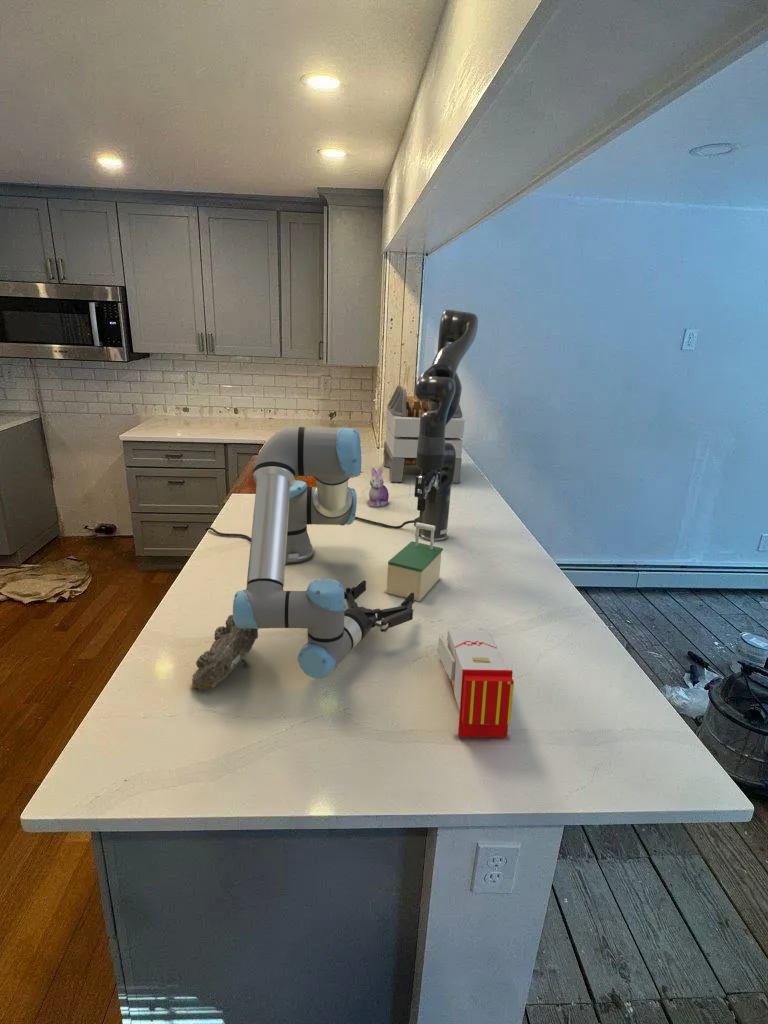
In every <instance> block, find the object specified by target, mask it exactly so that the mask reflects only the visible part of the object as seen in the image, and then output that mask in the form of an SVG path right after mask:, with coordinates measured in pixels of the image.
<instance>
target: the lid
mask: <svg viewBox="0 0 768 1024" xmlns="http://www.w3.org/2000/svg"><path fill="white" fill-rule="evenodd" d="M414 527H415V541H410V542H408V544H407V545H406V546H404V547H403V548H402V549H401V550H400V551H398V552H397V553H396V554H395V555H394V556H393V557H391V558H390V559H389V560H388V561H387V565H388V564H389V565H394V566H398V567H402V568H406V569H410V570H414V571H418V572H422V571H423V570H424V569H425V568H426V567H427V566H428V565H429V564H430V563H431V562H432V561H433V560H434V559H435V558H436V557H437V556H438V555H439V554H440V553H441V554H442V552H443V550H444V548H443V547H441V546H435V545H434V541H433V540H434V531H435V526H433V525H428V524H423V523H418V522H417V523H416V525H415V526H414ZM419 528H420V529H425V530H430V531H431V540H429V541H430V542H429V544H426V543H421V542H419V541H420V540H419V538H420V536H419Z"/></svg>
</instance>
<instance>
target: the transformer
mask: <svg viewBox="0 0 768 1024" xmlns="http://www.w3.org/2000/svg"><path fill="white" fill-rule="evenodd" d="M407 394H408V393H407V390H406V389H404V388H403V387H402V385H399V384H398V385H397V386H396V388H395V390H394V392H393V394H392V395H391V398H390V400H389V402H388V404H387V405H386V413H385V414H386V415H385V423H386V428H385V438H384V442H383V466H384V467H388V468H389V475H388V476H389V477H388V478H389V480H390V482H391V483H402V482H403V475H404V469H405V466H406V467H407V466H411V467H412V466H413V467H415V466H416V460H417V445H418V438H419V428H420V417H421V414H422V413H424V412H428V411H429V410H430V403H425V402H421V401H419V400H418V399H417V397H416V395H414V396H413V395H412V396H411V395H407ZM464 429H465V419H464V418H463V411H462V408H461V405H460V404H459V407H458V410H457V411H456V413H455V415H454V416H453V417H452V419H451V420H450V421H449V422H448V424H447V425H446V428H445V443H451V444H452V445H453V446H454V448H455V451H456V463H455V470H454V477H453V483H452V484H455V483H456V484H459V483H461V472H462V461H463V460H462V453H463V442H464V441H463V440H462V439H463V438H464V431H465V430H464ZM416 467H417V466H416Z"/></svg>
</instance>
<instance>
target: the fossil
mask: <svg viewBox="0 0 768 1024" xmlns="http://www.w3.org/2000/svg"><path fill="white" fill-rule="evenodd" d="M258 630H259V629H254V628H240V627H238V626H236V625H235V623H234V620H233V614H229V615H228V616H227V618H226V620H225V626H224V625H221V626H218V627H217V628H216V629H215V631H214V635H213V637H214V638H213V639H214V641H213V642H212V644H211V646H210V648H209V650H207V651H204V653H203V654H201V655H199V656H198V658H197V660H196V661H195V664H196V667H197V668H198V669H197V670H196V671H195V673H193V675H192V679H191V680H192V687H193V688H195V689H198V690H199V691H200V690H202V691H203V690H207V689H210V688H212V689H213V688H215V687H217V685H218V684H219V683H220V682H222V681H223V680H224V679H225V678H226V677H227V676H228V675H229V674H230V673H231V672H232V671H234V670H235V669H236V667H237V666H238V663H240V662H242V664H244V666H248V663H247V662H246V660H245V659H244V657H245V655H246V654H248V653H250V651H251V650H252V648H253V645H254V644H255V642H256V640H257V639H258V637H259V632H258Z"/></svg>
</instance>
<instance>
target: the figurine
mask: <svg viewBox="0 0 768 1024" xmlns="http://www.w3.org/2000/svg"><path fill="white" fill-rule="evenodd" d="M383 470H384V469H383V466H380V467H379V468H378V469H377V470H376V468H375V467H372V468H371V478H370V480H369V485H370V489H369V492H368V498H369V499H368V500H367V501H368V505H369V506H370V507H383V506H387V505H388V503H389V499H390V498H389V497H390V494H389V491H388V488H387V486H385V484H384V483H385V482H384V478H383V475H382V474H383Z"/></svg>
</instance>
